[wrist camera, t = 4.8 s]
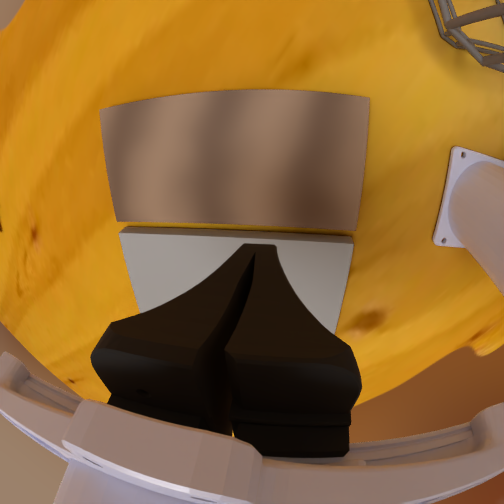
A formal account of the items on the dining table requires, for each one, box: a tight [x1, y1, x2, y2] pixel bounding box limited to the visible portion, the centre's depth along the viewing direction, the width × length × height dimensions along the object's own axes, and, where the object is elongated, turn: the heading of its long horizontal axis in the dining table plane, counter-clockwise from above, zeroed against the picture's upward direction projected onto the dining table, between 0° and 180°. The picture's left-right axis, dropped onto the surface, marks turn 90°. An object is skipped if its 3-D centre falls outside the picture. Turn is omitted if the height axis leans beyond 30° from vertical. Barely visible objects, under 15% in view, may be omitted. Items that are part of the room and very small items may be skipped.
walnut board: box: [100, 90, 370, 231], centre depth 17 cm, size 18×9×1 cm, turn 90°
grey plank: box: [119, 227, 354, 334], centre depth 23 cm, size 18×11×1 cm, turn 90°
